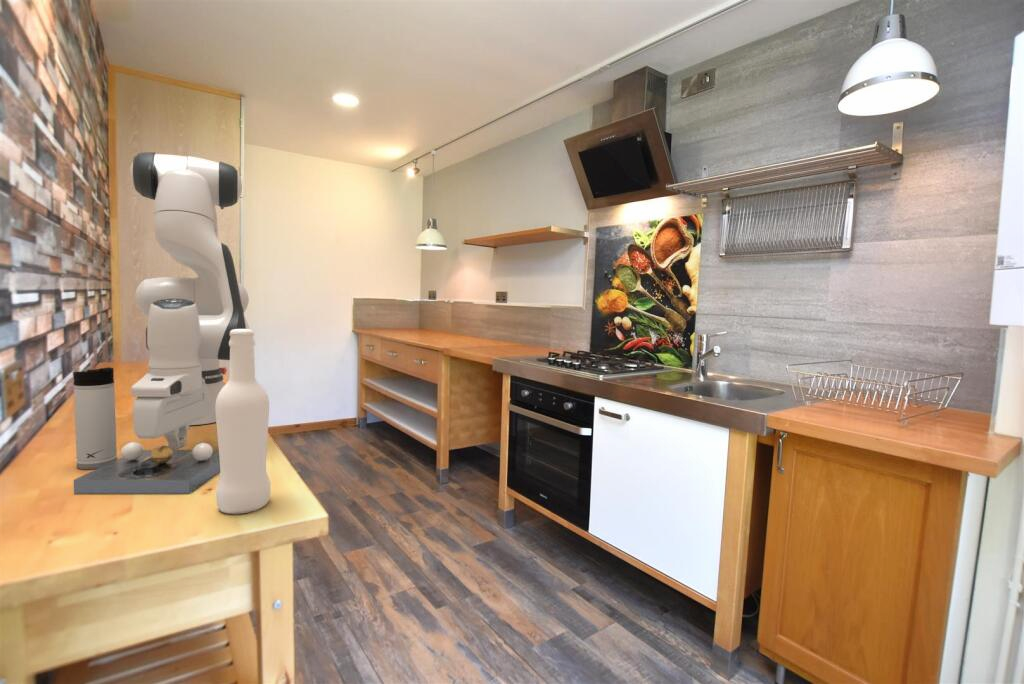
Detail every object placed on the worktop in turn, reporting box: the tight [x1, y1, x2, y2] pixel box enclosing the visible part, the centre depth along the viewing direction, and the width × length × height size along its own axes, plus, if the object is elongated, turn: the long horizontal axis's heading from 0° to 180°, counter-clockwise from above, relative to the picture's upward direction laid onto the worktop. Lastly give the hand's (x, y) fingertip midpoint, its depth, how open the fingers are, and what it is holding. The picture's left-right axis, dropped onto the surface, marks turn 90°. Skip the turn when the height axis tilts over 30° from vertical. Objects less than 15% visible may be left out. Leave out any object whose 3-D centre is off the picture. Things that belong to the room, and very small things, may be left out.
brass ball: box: [151, 444, 173, 464], centre depth 95 cm, size 4×4×4 cm
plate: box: [73, 449, 220, 495], centre depth 95 cm, size 17×19×3 cm
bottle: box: [215, 328, 272, 515], centre depth 83 cm, size 8×8×30 cm
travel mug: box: [72, 366, 118, 471], centre depth 100 cm, size 6×7×20 cm
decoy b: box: [120, 441, 144, 461], centre depth 96 cm, size 4×4×4 cm
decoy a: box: [192, 442, 214, 461], centre depth 98 cm, size 4×4×4 cm
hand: (177, 448), depth 100 cm, fingers closed
